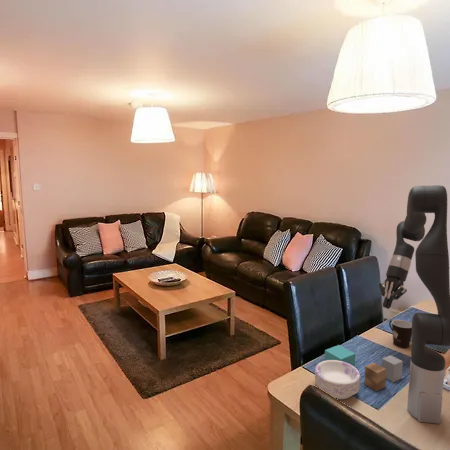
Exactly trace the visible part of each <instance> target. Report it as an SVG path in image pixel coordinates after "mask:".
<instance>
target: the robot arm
mask: <svg viewBox="0 0 450 450" xmlns="http://www.w3.org/2000/svg"><path fill="white" fill-rule="evenodd" d="M426 214H434V218H433V222H432V225H431V226H430V228H429V230H428V232H427V233H426V229H425V225H426V223H427V215H426ZM447 227H448V192H447V189H446V187H445V185H440V184H439V185H437V184H436V185H416V186H413V187H411V189H410V190H409V192H408V196H407V202H406V216H405V219H404V221H403V220H402V221H400V222H398V223H397V226H396V235H395V236H396V241H395V248H394V251H393V253H392V256H391V258H390V261H389V264H388V267H387V271H386V273H385V276H386V279H385V280H384V282H383V283H379V284H378V286H379V287H378V288H379V290H380V294H381V296H382V297H384V300H383V303H382V308H384V309H388V310H389V309H390V308H391V306H392V304H393V301H394V300H396V301H398V299H400V298H401V297H402V296H404V295H405V294H406V293H407V292H408V290H407V288H405V287H404V286H405V284H404V283H405V282H406V281H407V277H408V275H409V271H410V267H411V263H412V259H413V256H414V253H415V257H414V258H415V272H416V274H417V275H418V277H419V279H420V281H421V282H422V284H423V285H424V286H425V287H426V289H427V290H428V291H429V293H430V294H431V297H432V298H433V300H434V302H435V305H436V309H437V313H426V312H416V313H414V314H413V315H412V320H411V323H412V336H411V343H410V346H411V348H410V350H411V351H410V353H411V354H410V366H409V378H408V380H409V381H408V391H407V392H408V393H407V411H408V413H409V414H410V415H411V416H412V417H414V418H415V419H416V420H417V421H418V422H420V423H421V422H422V423H429V424H441V419H442V418H441V417H442V405H443V392H444V391H443V390H444V380H445V372H446V371H445V370H446V359H445V358H444V356H443V355H442V354H441V353H439V352H438V351H436V350H434V349H432V348H430V347H428V346H427V345H433V346H443V347H450V257H449V256H450V255H449V245H448V244H449V243H448V228H447ZM425 234H426V235H425ZM404 239H405V240H409V241H413V242H420V243H419V244H418V246H417V247H416V250H415V247H414V246H413V245H411V244H409V243H407V242H406V241H405V240H404Z"/></svg>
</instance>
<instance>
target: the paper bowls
mask: <svg viewBox="0 0 450 450" xmlns="http://www.w3.org/2000/svg"><path fill="white" fill-rule="evenodd" d="M314 381H315V385H316V387H318V388H319V389H320V390H321V389H322V390H324V391H325V392H327V393H328V394H330V395H332V396H333V397H335V398H337V399H336V400H346V399H349V398H351V396H355V395H356V394H357V393H358V392H359V391H360V389H361V374H360V371H359V370H358V368H356V366H355V367H354V366H352V365H351V364H349V363H346V362H343V361H338V360H326V361H325V360H322V361H320V362H318V363H317V364H316V366H315V367H314ZM322 390H321V391H322ZM335 398H334V399H335Z"/></svg>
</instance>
